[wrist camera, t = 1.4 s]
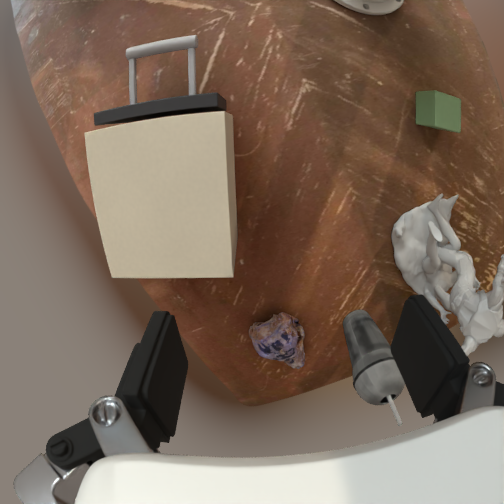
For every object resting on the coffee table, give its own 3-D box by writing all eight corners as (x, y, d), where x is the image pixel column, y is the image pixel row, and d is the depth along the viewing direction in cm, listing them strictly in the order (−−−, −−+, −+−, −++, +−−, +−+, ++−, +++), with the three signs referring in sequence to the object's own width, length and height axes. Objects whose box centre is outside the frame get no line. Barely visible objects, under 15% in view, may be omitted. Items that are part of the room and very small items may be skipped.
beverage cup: (336, 342, 43) (367, 449, 25) (331, 310, 40) (370, 427, 22) (376, 330, 42) (420, 429, 24) (376, 296, 39) (433, 402, 21)
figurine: (461, 274, 37) (522, 341, 21) (404, 310, 40) (452, 393, 24) (447, 180, 30) (541, 231, 14) (376, 219, 33) (456, 301, 17)
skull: (315, 353, 43) (315, 382, 38) (272, 362, 45) (268, 390, 40) (293, 299, 39) (292, 328, 33) (244, 311, 41) (236, 339, 36)
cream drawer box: (127, 127, 28) (84, 133, 19) (232, 114, 28) (224, 111, 19) (142, 239, 34) (112, 278, 26) (237, 236, 34) (233, 277, 26)
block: (415, 91, 25) (434, 90, 21) (440, 98, 25) (461, 99, 21) (415, 124, 27) (434, 126, 23) (440, 129, 27) (460, 133, 23)
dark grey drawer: (126, 60, 23) (93, 48, 16) (224, 44, 23) (216, 21, 16) (140, 221, 32) (113, 249, 25) (231, 217, 32) (225, 246, 25)
